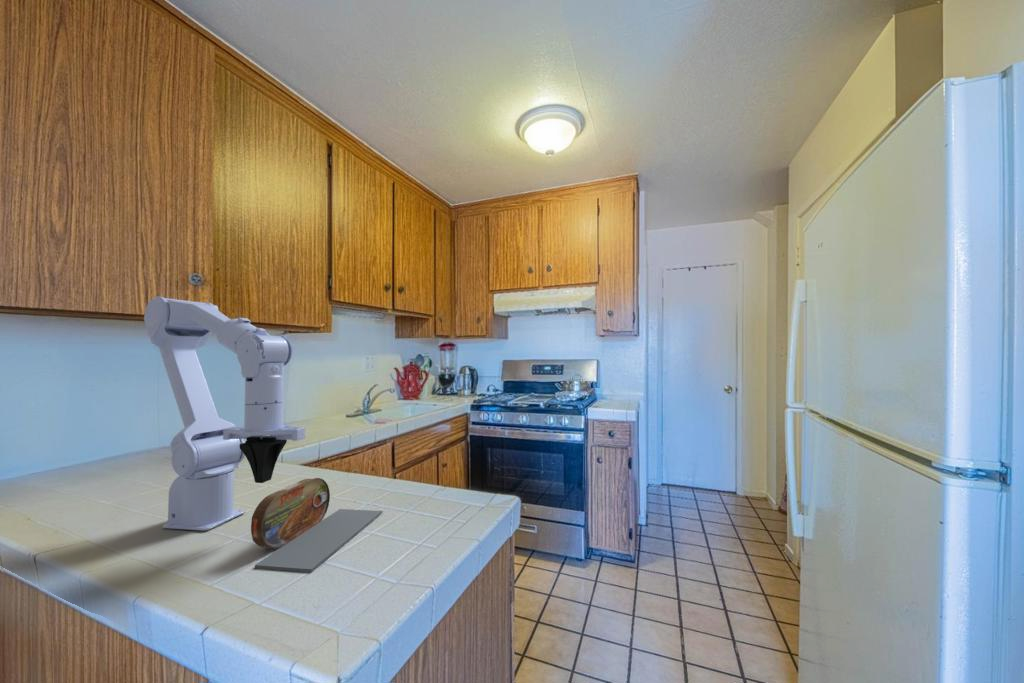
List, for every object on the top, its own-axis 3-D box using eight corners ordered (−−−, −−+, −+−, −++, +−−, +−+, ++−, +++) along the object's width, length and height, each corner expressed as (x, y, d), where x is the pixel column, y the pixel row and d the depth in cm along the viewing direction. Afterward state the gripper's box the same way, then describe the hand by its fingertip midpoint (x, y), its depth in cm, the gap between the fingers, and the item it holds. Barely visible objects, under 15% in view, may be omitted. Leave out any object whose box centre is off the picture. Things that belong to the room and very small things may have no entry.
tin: (263, 559, 55) (264, 502, 56) (245, 557, 56) (246, 500, 56) (331, 517, 70) (331, 472, 71) (316, 516, 71) (317, 471, 71)
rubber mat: (254, 567, 53) (254, 565, 53) (339, 511, 73) (339, 508, 73) (311, 572, 52) (311, 569, 52) (382, 513, 71) (382, 511, 71)
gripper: (207, 405, 62) (205, 487, 61) (284, 405, 60) (283, 490, 59) (243, 401, 69) (242, 474, 68) (313, 400, 67) (312, 476, 66)
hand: (263, 481), depth 64 cm, fingers closed
